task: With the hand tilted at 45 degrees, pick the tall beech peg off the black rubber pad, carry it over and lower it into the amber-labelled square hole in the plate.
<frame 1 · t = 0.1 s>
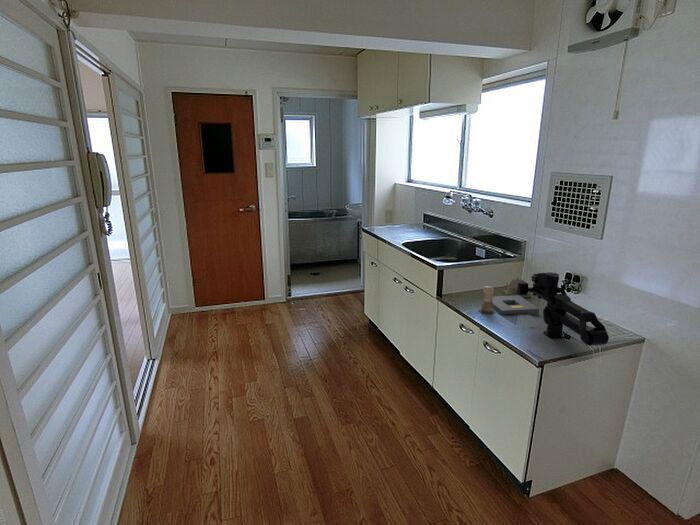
hand: (527, 283, 198), 17 cm above the worktop, tool horizontal, fingers open, 9 cm apart
ceramic model: (516, 294, 231), on the worktop
beech peg: (486, 311, 203), point 1 cm above the worktop, touching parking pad
hole plate: (510, 307, 210), on the worktop
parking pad: (486, 313, 203), on the worktop
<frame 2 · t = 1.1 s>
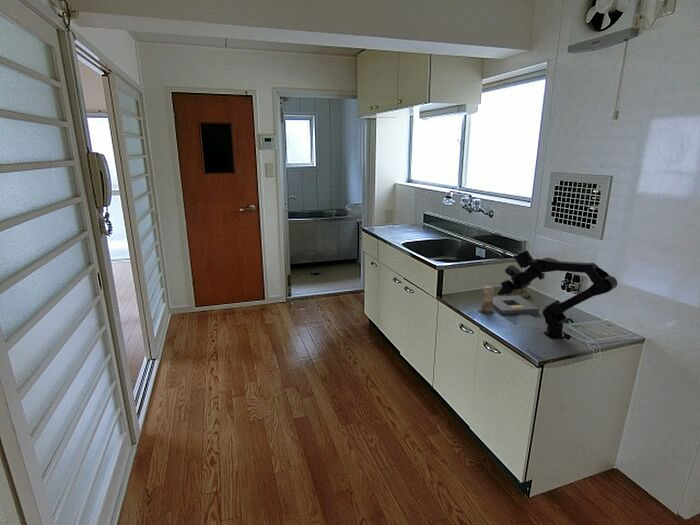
hand: (503, 292, 194), 14 cm above the worktop, tool tilted 45°, fingers open, 9 cm apart
nothing on the worktop moved.
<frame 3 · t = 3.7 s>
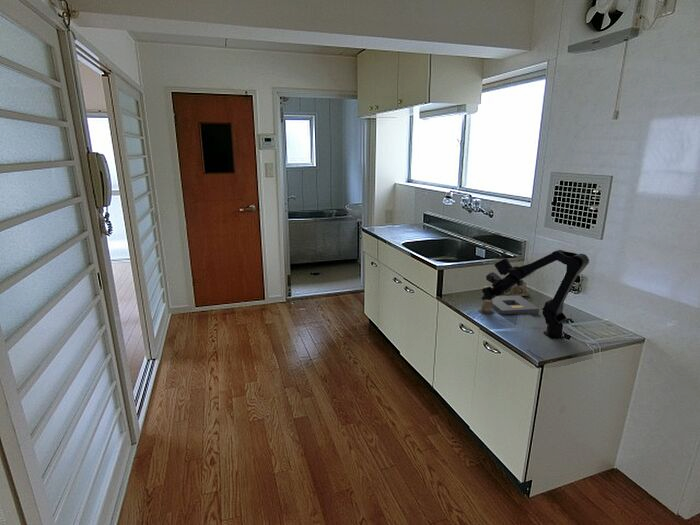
hand: (485, 298, 202), 8 cm above the worktop, tool tilted 45°, fingers closed on beech peg, 5 cm apart
beech peg: (486, 311, 203), point 1 cm above the worktop, touching gripper, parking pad
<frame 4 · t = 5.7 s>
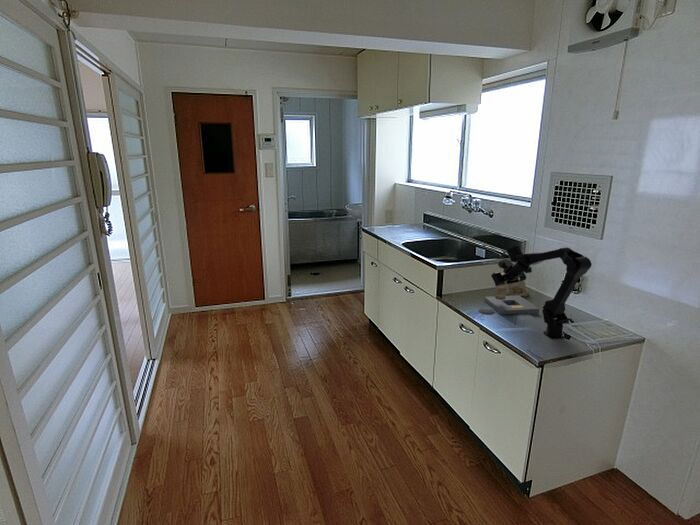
hand: (499, 284, 206), 13 cm above the worktop, tool tilted 45°, fingers closed on beech peg, 5 cm apart
beech peg: (500, 298, 206), point 6 cm above the worktop, touching gripper
when the fingers open (8 cm above the worktop, at t = 7.8 s): beech peg drops 1 cm, resting in hole plate.
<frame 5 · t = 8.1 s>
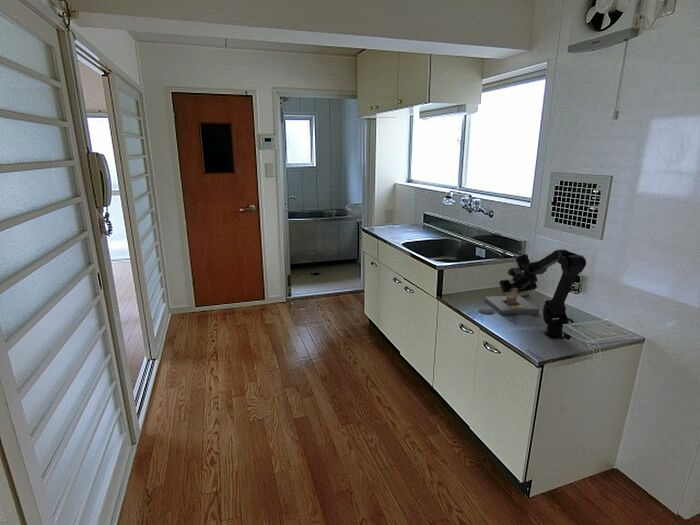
hand: (510, 291, 209), 9 cm above the worktop, tool tilted 45°, fingers open, 8 cm apart
beech peg: (510, 307, 210), resting in hole plate
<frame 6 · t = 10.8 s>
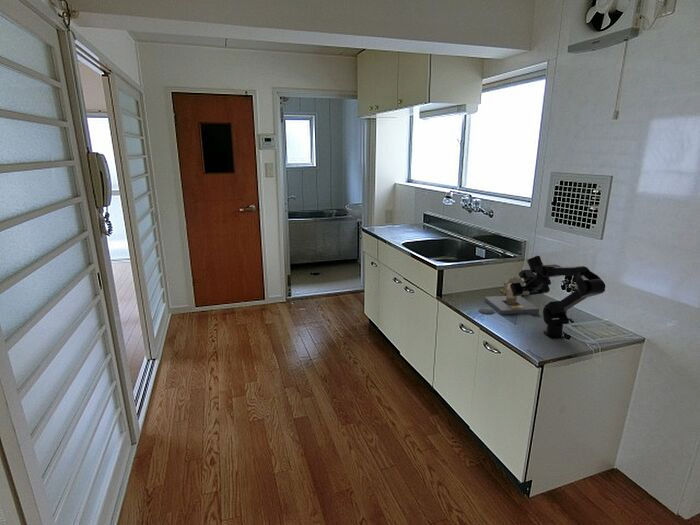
hand: (521, 295, 200), 10 cm above the worktop, tool tilted 45°, fingers open, 9 cm apart
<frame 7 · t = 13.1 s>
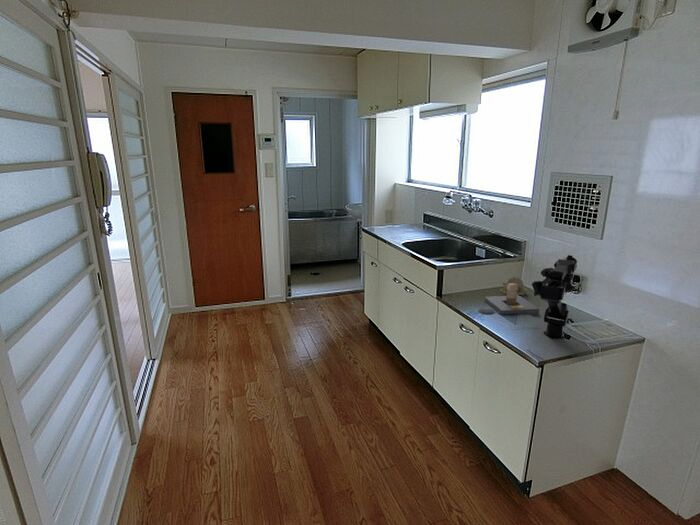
hand: (542, 294, 194), 13 cm above the worktop, tool tilted 45°, fingers open, 9 cm apart
at the end: beech peg 0.1 cm off-centre on the hole plate, point 0.0 cm above the hole plate's base; beech peg tilted 0°; the gripper is holding nothing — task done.
